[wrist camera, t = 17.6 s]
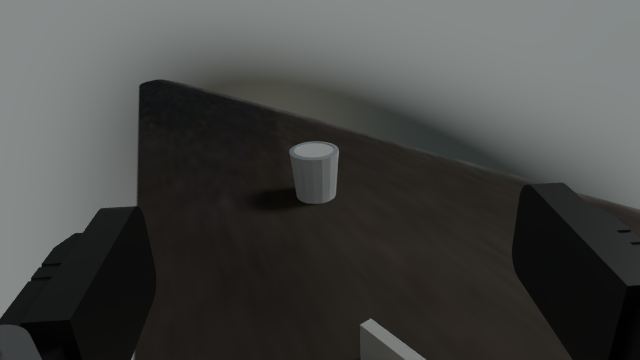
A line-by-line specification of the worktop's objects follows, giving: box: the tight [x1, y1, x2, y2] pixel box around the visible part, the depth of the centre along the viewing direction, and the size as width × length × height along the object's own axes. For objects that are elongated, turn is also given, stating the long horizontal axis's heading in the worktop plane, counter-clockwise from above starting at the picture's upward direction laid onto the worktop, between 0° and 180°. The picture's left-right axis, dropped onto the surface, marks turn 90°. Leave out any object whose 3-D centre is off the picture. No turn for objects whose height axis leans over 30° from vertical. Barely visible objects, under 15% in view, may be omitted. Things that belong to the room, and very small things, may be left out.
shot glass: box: [289, 141, 339, 204], centre depth 73 cm, size 7×7×7 cm
